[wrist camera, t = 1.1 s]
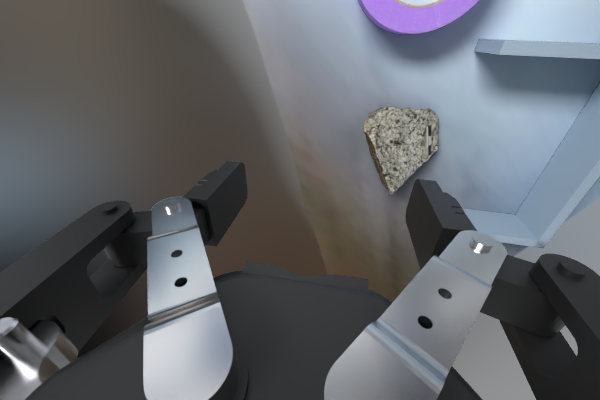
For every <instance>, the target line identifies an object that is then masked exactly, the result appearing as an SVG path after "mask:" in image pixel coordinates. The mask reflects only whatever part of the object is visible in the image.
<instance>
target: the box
mask: <svg viewBox="0 0 600 400" xmlns="http://www.w3.org/2000/svg"><path fill="white" fill-rule="evenodd" d="M475 52H483V53H491V54H498V55H518V56H540V57H563V58H585V59H600V44H596V43H570V42H543V41H517V40H488V39H479V40H478V43H477V46H476V49H475ZM599 176H600V83H599V84H598V86H597V87H596V89H595V91H594V92H593V94H592V95H591V97H590V98H589V100H588V102H587V103H586V105H585V106H584V108H583V109H582V111H581V112H580V114H579V116H578V117H577V119H576V120H575V122H574V123H573V125H572V127H571V128H570V130H569V131H568V133H567V134H566V136H565V138H564V139H563V141H562V142H561V144H560V145H559V147H558V149H557V150H556V152H555V153H554V155H553V156H552V158H551V160H550V161H549V163H548V164H547V166H546V167H545V169H544V171H543V172H542V174H541V175H540V177H539V178H538V180H537V182H536V183H535V185H534V186H533V188H532V189H531V191H530V193H529V194H528V196H527V197H526V199H525V200H524V202H523V204H522V205H521V207H520V208H519V210H518V211H517V213H516V215H513V214H504V213H496V212H488V211H480V210H471V209H463V208H462V209H463V210H464V212H465V215H467V216H468V218H469V219H470V221H471V222H472V224H473V225H474V227H475V228H476V230H477V231H478V232H481V233H484V234H487V235H489V236H491V237H493V238H495V239H496V240H498V241H499V242H502V243H509V244H516V245H524V246H531V247H539V248H544V246H545V245H546V244H547V242H548V241H549V240H550V238H551V237H552V236H553V235H554V234H555V232H556V231H557V230H558V228H559V227H560V226H561V225H562V223H563V222H564V221H565V220H566V218H567V217H568V216H569V215H570V213H571V212H572V211H573V209H574V208H575V207H576V206H577V204H578V203H579V202H580V201H581V199H582V198H583V197H584V195H585V194H586V193H587V192H588V190H589V189H590V188H591V187H592V185H593V184H594V183H595V181H596V180H597V179H598V178H599Z"/></svg>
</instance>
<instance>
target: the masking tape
mask: <svg viewBox="0 0 600 400" xmlns="http://www.w3.org/2000/svg"><path fill="white" fill-rule="evenodd" d="M478 1H479V0H435V1H433V2H432V3H429V4H424V5H412V4H408V3H404V2H402V1H400V0H358V2H359V4H360V6H361V8H362V9H363V11H364V13H365V14H366V15H367V17H368V18H369V19H370V20H371V21H372V22H373V23H375V24H376V25H377V26H379V27H380V28H382V29H384V30H386V31H389V32H392V33H396V34H419V33H425V32H430V31H433V30H436V29H439V28H441V27H443V26H445V25H447V24H449V23H451V22H453V21H455V20H456V19H458V18H459V17H461V16H462V15H463V14H465V13H466V12H467V11H468V10H470V9H471V8H472V7H473V6H474V5H475V4H476V3H477V2H478Z"/></svg>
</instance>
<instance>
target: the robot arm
mask: <svg viewBox="0 0 600 400" xmlns="http://www.w3.org/2000/svg"><path fill="white" fill-rule="evenodd" d="M246 199H247V184H246V174H245V166H244V164H243V163H241V162H229V161H227V162H226V163H225V164H224V165H223V166H222V167H221V168H219V169H218V170H215V171H213V172H211V173H209V174H207V175H206V176H205V177H204V178H203V179H202V180H201V181H199V182H198V183H197V185H195V186H194V187H193V188H192V189H191V190H189V191H188V192H187V193H186V194H185V195H184V196H183V197H172V198H168V199H164V200H162V201H160V202H158V203H157V204H156V205H154V206H153V208H152V211H141V212H133V210H132V207H131V205H130V204H129V203H128V202H126V201H111V202H107V203H104V204H101V205H99V206H96V207H94V208H93V209H91V210H90V211H88V212H87V213H86V214H84V215H83V216H81V217H80V218H78V219H77V220H75V221H74V222H73V223H71V224H70V225H68V226H67V227H65V228H64V229H63V230H61V231H60V232H58V233H57V234H55V235H54V236H52V237H51V238H49V239H48V240H47V241H45V242H44V243H42V244H41V245H40V246H38V247H36V248H35V249H34V250H32V251H31V252H29V253H28V254H26V255H25V256H24V257H22V258H21V259H19V260H18V261H16V262H15V263H13V264H12V265H11V266H9V267H8V268H6V269H5V270H3V271H2V272H0V400H482V399H481V398H480V396H479V395H478V394H477V393H476V392H475V391H474V390H473V389H472V388H471V386H470V385H469V384H468V383H467V382H466V381H465V380H464V379H463V378H462V377H461V375H460V374H459V373H458V372H457V371H456V370H455V369H454V368H453V367H452V365H453V363H454V361H455V359H456V357H457V355H458V353H459V351H460V349H461V347H462V345H463V343H464V341H465V339H466V337H467V335H468V333H469V331H470V329H471V327H472V325H473V324H474V322H475V320H476V318H477V316H478V314H479V312H482V313H484V314H487V315H489V316H491V317H494V318H496V319H499V320H500V323H501V325H502V327H503V329H504V331H505V333H506V336H507V338H508V340H509V342H510V344H511V346H512V348H513V350H514V353H515V355H516V357H517V359H518V361H519V363H520V365H521V368H522V370H523V372H524V374H525V376H526V378H527V381H528V383H529V385H530V387H531V389H532V391H533V393H534V396H535V398H536V400H600V276H599V275H598V274H596V273H595V272H594V271H593V270H591V269H590V268H588V267H587V266H585V265H583V264H582V263H580V262H578V261H575V260H573V259H571V258H568V257H565V256H562V255H557V254H544V255H541V256H540V258H539V259H538V260H537V262H536V263H532V262H528V261H525V260H522V259H519V258H515V257H512V256H509V255H507V251H506V248H505V247H504V246H503V245H502V243H500V242H499V241H498V240H496V239H495V238H493V237H491V236H489V235H487V234H484V233H481V232H478V231H477V230H476V228H475V227H474V225H473V224H472V222H471V221H470V219H469V218H468V216H467V215H465V212H464V210H463V209H462V208H461V206H460V204H459V203H458V201H457V200H456V199H455V198H453V197H452V196H451V195H449V194H448V193H444V192H442V190H441V188H440V187H439V185H438V184H437V182H436V181H433V180H422V179H417V180H416V181H415V183H414V186H413V189H412V192H411V196H410V199H409V202H408V206H407V209H406V223H407V227H408V230H409V233H410V236H411V240H412V243H413V246H414V249H415V253H416V256H417V259H418V262H419V266H420V269H421V271H420V272H419V273H418V274H417V275H416V276H415V278H414V279H413V280H412V281H411V282H410V283H409V284H408V286H407V287H406V288H405V289H404V290H403V291H402V292H401V294H400V295H399V296H398V297H397V298H396V299H395V300H394V302H393V303H392V302H391V301H389V300H388V299H386V298H385V297H383V296H381V295H380V294H378V293H375V292H373V291H371V290H368V279H362V278H355V277H348V276H341V275H326V276H325V275H324V276H308V277H306V276H301V275H298V274H295V273H293V272H290V271H288V270H285V269H282V268H280V267H277V266H273V265H266V264H260V263H252V262H246V264H245V266H244V268H243V270H242V271H234V272H230V273H226V274H223V275H220V276H217V277H215V278H213V276H212V273H211V269H210V266H209V262H208V259H207V255H206V252H205V248H204V247H205V245H210V246H217V245H218V243H219V242H220V240H221V239H222V237H223V236H224V234H225V233H226V231H227V230H228V228H229V227H230V225H231V223H232V222H233V221H234V219H235V218H236V216H237V214H238V213H239V211H240V210H241V208H242V207H243V205H244V204H245V202H246ZM102 249H104V250H105V252H106V254H107V256H108V257H109V259H108V260H107V261H106V262H105V263H104V264H103V265H102V266H101V267H100V268H99V269H98V270H97V271H96V272H95V273H94V274H93V275H92V276H91V277H90V278H89V277H88V275H87V266H88V264H89V262H90V261H91V260H92V259H93V258H94V257H95V256H96V255H97V254H98V253H99V252H100V251H101V250H102ZM147 268H148V317H147V318H145V319H144V320H142V321H140V322H139V323H137V324H135V325H133V326H132V327H130V328H128V329H127V330H125V331H123V332H122V333H120V334H118V335H117V336H115V337H114V338H112V339H110V340H108V341H106V342H105V343H103V344H101V345H100V346H98V347H96V348H95V349H93V350H91V351H90V352H88V353H86V354H85V355H83V356H81V357H80V358H78V359H77V355H78V352H79V351H80V349H81V348H82V347H83V346H84V345H85V343H86V342H87V341H88V340H89V338H90V337H91V336H92V335H93V334H94V332H95V331H96V330H97V329H98V327H99V326H100V325H101V324H102V322H103V321H104V320H105V319H106V318H107V316H108V315H109V314H110V313H111V312H112V310H113V309H114V308H115V307H116V306H117V304H118V303H119V302H120V300H121V299H122V298H123V297H124V296H125V295H126V293H127V292H128V291H129V289H130V288H131V287H132V286H133V285H134V283H135V282H136V281H137V280H138V279H139V277H140V276H141V275H142V274H143V272H144V271H145V270H146V269H147ZM565 325H566V326H567V328H568V329H569V331H570V332H571V334H572V335H573V337H574V338H575V340H576V342H577V346H578V355H577V356H576V355H575V353H574V352H573V350H572V349H571V347H570V346H569V344H568V343H567V341H566V340H565V338H564V337H563V335H562V334H561V332H560V330H561V329H562V328H563V327H564V326H565Z"/></svg>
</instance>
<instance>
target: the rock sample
mask: <svg viewBox="0 0 600 400" xmlns="http://www.w3.org/2000/svg"><path fill="white" fill-rule="evenodd" d="M380 106H381V105H380ZM438 128H439V126H438V118H437V116H436V114H435V113H434V111H433V110H431V109H426V110H422V109H421V110H413V109H411V108H405V109H402V110H399V109H397V108H394V107H385V108H380V109H378V110H376V111H374V112H371V113H370V114H369V116H368V119H367V120H366V122H365V125H364V133H365V134H366V140H367V142H368V145H369V150H370V153H371V156H372V158H373V160H374V164H375V166H376V169H377V172H378V173H379V176H380V180H381V182H382V184H383V185H384V186H385V187H386V189H387V191H388V192H389V195H390V194H393V192H394V193H395V191H396V190H397V189H398V188H399V187H401V186H402V185H403V184H404V183H405V182H406V181H407V180H408V179H409V178H410V176H412V175H413V174H414V173H415V172H416V171H417V170H418V169H419V168H420V167H421V166H422V165H423V164H424V163H425V162H426V161H427V160H428V159H429V158H430V157H431V155H432V154H433V153H434V152H436V151H437V150H438Z"/></svg>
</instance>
